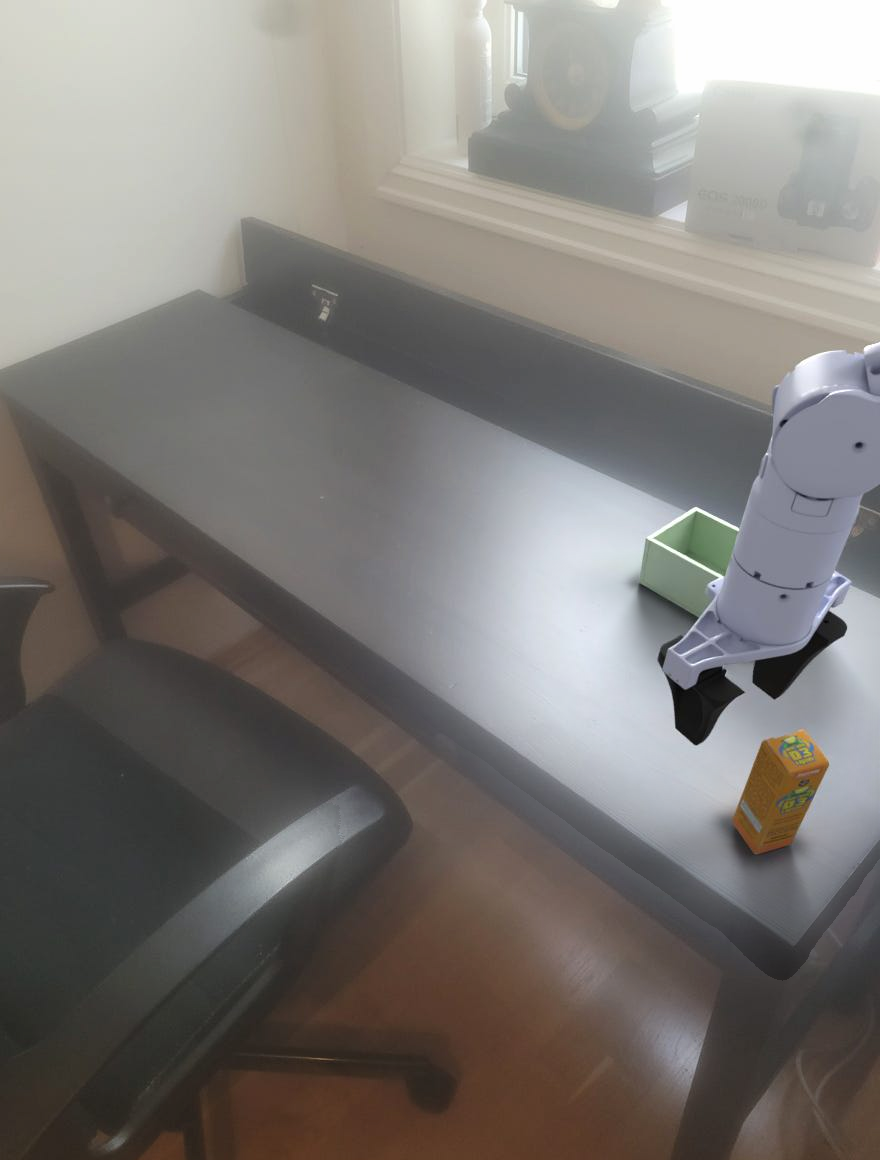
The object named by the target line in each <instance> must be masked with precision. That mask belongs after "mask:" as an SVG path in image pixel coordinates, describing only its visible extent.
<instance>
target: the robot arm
mask: <svg viewBox="0 0 880 1160" xmlns="http://www.w3.org/2000/svg"><path fill="white" fill-rule="evenodd" d="M862 352H863V353H861V352H857V351H854V352H853V353H852V354H851V353H847V350H844V349H841V350H840V349H839V350H829V351H825V352H820V353H817V354H815V355H812V356H810V357H808V358H806V359H804V360H801V362H799V363H798V364H796V365H795V366H794V370H793V371H792V372H790V371H788V373H786V375H785V376H784V378H783V379H782V380H781V382H780V383H779V384H778V385H775V386H774V387H773V388H772V394H771V412H772V417H773V418H772V419H773V420H772V433H771V438H770V440H769V444H768V447H767V451H766V452H765V454H764V455H763V457H762V459H761V462H760V464H759V470H758V475H757V476H756V478H755V479H754V481H753V483H752V485H751V489H750V492H749V496H748V499H747V502H746V505H745V509H744V512H743V515H742V518H741V521H740V525H739V527H738V528H739V531H738V535H737V538H736V541H735V544H734V548H733V551H732V555H731V558H730V562H729V565H728V568H727V571H726V574H725V576H724V577H720V578H718V579H716V580H714V581H712V582H710V583H709V584H708V585H707V588H706V591H705V593H706V595H707V596H708V597H709V598H710V599H712V600H713V601H712V602H711V604H710V605H709V606H708V607H707V609H706V610H705V611H704V613H703V614H702V615H701V616H700V618H699V617H698V619H697V620H696V621H695V623H694V624H693V625H692V627H691V628H690V629H689V630H688V632H687V633H686V634H685V635H683V634H680V635H678V636H677V637H674V638H673V639H670V640H669V641H666V642H665V643H663V644H661V646H660V648H659V652H658V656H657V662H658V664H659V666H660V668H661V671H662V672H663V674H664V676H665V679H666V680H667V683H668V685H669V689H670V691H671V692H670V693H671V697H672V703H673V704H672V705H673V713H674V715H673V717H674V728H675V729H676V730H677V731H678V732H679V733H680V734H681V735H682V736H683V737H684V738H686V740H688V741H689V742H690V743H691V744H692V745H693V746H699V745H700V744H702V743H704V742H705V741H706V740H707V739H708V738H709V736H711V733H712V732H713V730H714V728H715V726H716V724H717V722H718V720H719V718H720V716H721V715H722V713H724V711H725V710H726V708H727V707H729V705H730V704H731V703H733V701H735V700H736V699H738V698H739V697H741V696H742V695H744V694H746V691H745V690H744V689H742V688H741V687H740V686H739V685H737V684H736V683H735V682H734V681H732V680H731V679H729V677H727V676H726V674H727V669H726V668H724V667H725V666H731V665H737V664H743V663H747V662H754V664H753V668H752V677H751V679H752V680H751V681H752V682H751V683H752V684H753V685H754V686H756V688H758V689H759V690H761V691H762V692H763V693H765V694H766V695H767V696H768V697H770V698H771V699H772V700H774V701H775V700H777V699H779V698H780V697H781V696H783V695H784V694H785V693H786V692H787V691H788V690H789V688H791V686H792V685H793V683H794V682H795V681H796V680H797V679H798V678H799V676H800V675H801V674H802V672H804V670H805V669H806V668H807V666H808V665H810V663H811V662H812V661H813V660H814V659H815V658H816V657H817V656H818V655H820V654H822V652H823V651H824V650H825V649H827V648H828V647H830V646H831V645H832V644H834V643H835V642H837V641H838V640H840V639H842V638H843V637H845V636H846V633H847V630H848V624H847V623H846V622H845V620H844V619H842V618H841V617H839V616H838V615H837V614H835V613H833V612H832V611H830V610H831V608H832V609H834V608H836V607H838V606H840V605H842V604H843V603H844V601H845V598H846V597H847V594H848V591H849V589H850V587H851V585H852V580H851V579H849V578H848V577H846V576H844V575H843V574H841V573H839V572H838V571H837V570H836V568H837V565H838V563H839V561H840V558H841V555H842V553H843V551H844V548H845V546H846V544H847V541H848V539H849V536H850V534H851V530H852V529H853V526H854V524H855V522H856V520H857V517H858V515H859V513H860V508H861V502H862V499H863V496H864V495H865V494H867V493H868V492H870V491H872V490H873V489H875V488H876V487H878V486H879V485H880V342H877V343H874V344H870V345H867V346H865V347H864V348H863V351H862Z"/></svg>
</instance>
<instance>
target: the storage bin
mask: <svg viewBox="0 0 880 1160" xmlns="http://www.w3.org/2000/svg"><path fill="white" fill-rule="evenodd" d="M739 528H740V527H737V526H736V525H733V524H731V523H729V522H727V521H726V520H723V519H721V518H719V517H717V516H715V515H713V514H711V513H709V512H707V511H705V510H703V509H701V508H699V507H697V506H695V507H693V508H691V509H690V510H688V511H687V512H685V513H683V514H682V515H680V516H679V517H677V518H675V519H673V520H672V521H671V522H669V523H668V524H666V525H664V526H663V527H661V528H660V529H658V530H656V531H655V532H653V533H652V534H650V535H648V536H647V537H645V541H644V548H643V554H642V562H641V568H640V574H639V581H638V582H639V584H640V585H642V586H643V587H645V588H647V589H648V590H651V591H652V592H654V593H656V594H658V595H659V596H661V597H662V598H665V600H668V601H670V602H671V603H673V604H674V605H676V606H678V607H679V608H682V609H683V610H684V611H686V612H688V613H690V614H692V615H694V616H695V617H696V618H698V619H699V618H700V616H701V615H702V614H703V613H704V611H705V610H706V609H707V607H708V606H709V605H710V604H711V602H712V601H713V600H712V599H710V598H709V597H708V596H707V595H706V593H705V591H706V588H707V585H708V584H709V583H710V582H712V581H714V580H716V579H718V578H720V577H724V576H725V574H726V571H727V568H728V565H729V562H730V558H731V555H732V551H733V548H734V544H735V541H736V538H737V535H738V531H739Z"/></svg>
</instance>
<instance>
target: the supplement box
mask: <svg viewBox="0 0 880 1160" xmlns="http://www.w3.org/2000/svg"><path fill="white" fill-rule="evenodd" d="M829 766H830V761H829V759H828V758H827V757H826V755H825V754H824V753H823V752H822V750H821V749H820V748H819V746H818V745H817V744H816V742H815V741H814V740H813V739H812V738H811V736H810V735H809V733H808V732H806V730H805V729H799V730H796V731H795V732H794V733H791V734H790V733H789V734H787V735H782V736H779V737H769V738H766V739H763V740H762V741H761V743H760V745H759V749H758V751H757V753H756V756H755V759H754V761H753V763H752V766H751V769H750V771H749V775H748V777H747V780H746V782H745V785H744V788H743V791H742V793H741V796H740V798H739V801H738V804H737V806H736V809H735V812H734V814H733V818H732V820H731V822H732V824H733V825H734V827H735V828H736V830H737V831H738V834H739V835H740V837H742V839H743V840H744V842H745V843H746V846H748V848H749V849H750V850H751V852H752V853H753V854H754V855H760V854H764V853H767V852H771V851H774V850H776V849H780V848H783V847H787V846H790V845H792V843H793V841H794V839H795V837H796V835H797V833H798V831H799V829H800V826H801V825H802V823H803V820H804V818H805V816H806V814H807V812H808V811H809V809H810V806H811V804H812V802H813V800H814V797H815V795H816V793H817V791H818V789H819V787H820V785H821V783H822V781H823V779H824V777H825V775H826V773H827V770H828V769H829Z"/></svg>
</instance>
